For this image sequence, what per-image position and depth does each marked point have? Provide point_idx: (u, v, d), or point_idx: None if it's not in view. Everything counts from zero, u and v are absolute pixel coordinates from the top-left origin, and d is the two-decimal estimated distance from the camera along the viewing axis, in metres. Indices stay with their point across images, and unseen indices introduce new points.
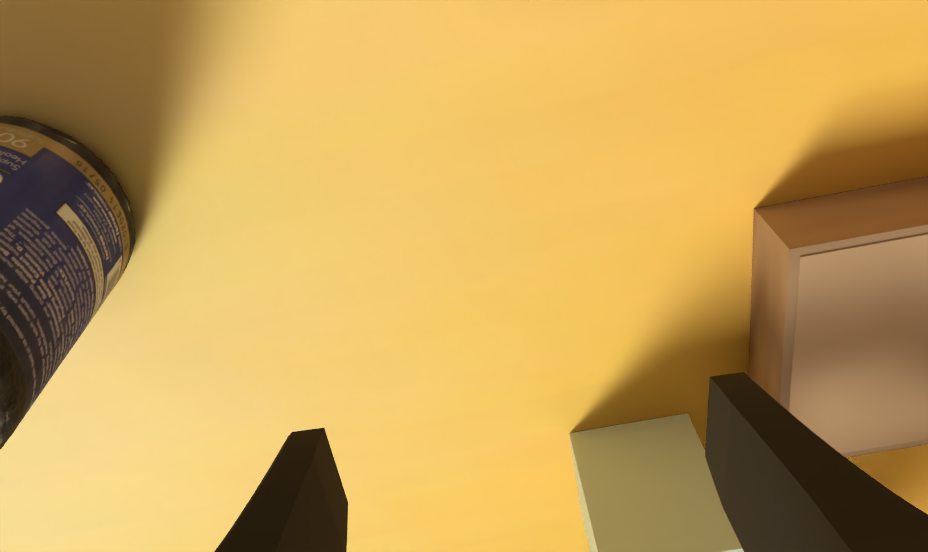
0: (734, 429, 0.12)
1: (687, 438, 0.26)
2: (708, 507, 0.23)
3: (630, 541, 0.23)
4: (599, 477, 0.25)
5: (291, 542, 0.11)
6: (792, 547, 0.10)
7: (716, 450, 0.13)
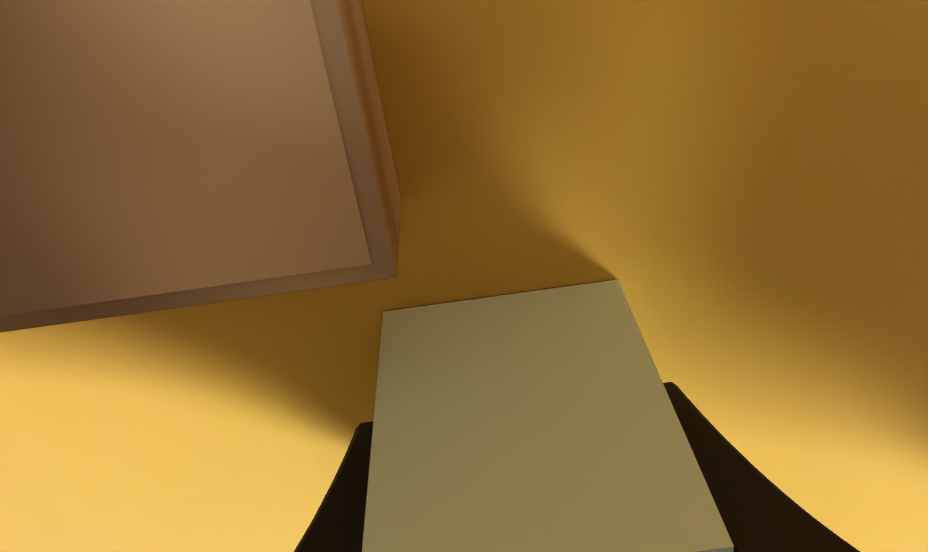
0: None
1: None
2: None
3: None
4: None
5: None
6: None
7: None
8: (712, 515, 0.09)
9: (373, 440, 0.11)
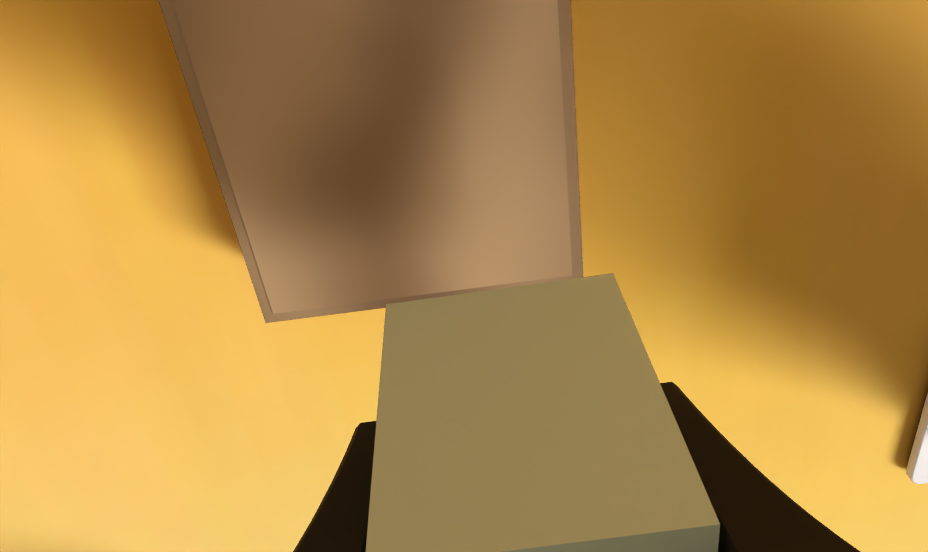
0: None
1: None
2: None
3: None
4: None
5: None
6: None
7: None
8: (700, 495, 0.09)
9: (378, 426, 0.11)
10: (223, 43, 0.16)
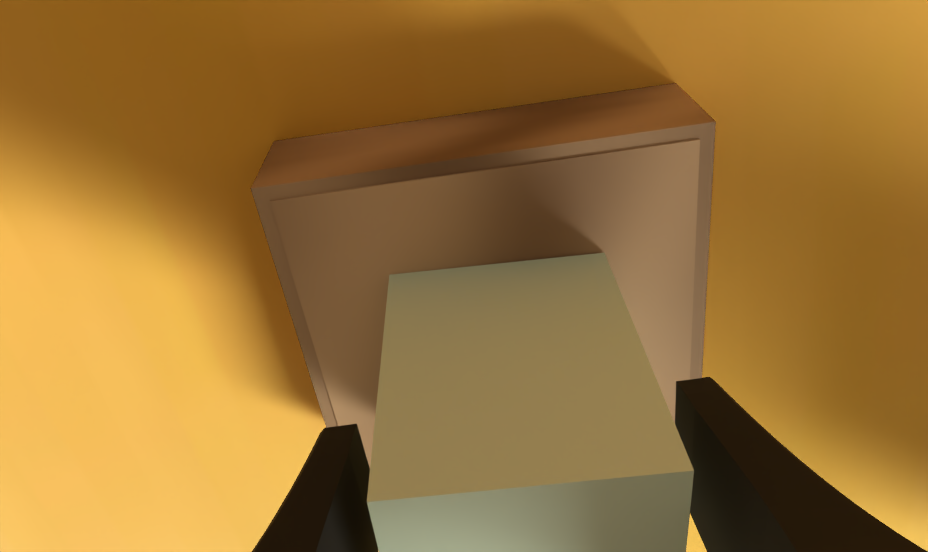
0: (697, 434, 0.12)
1: None
2: None
3: None
4: None
5: (331, 537, 0.11)
6: None
7: None
8: (677, 446, 0.10)
9: (380, 380, 0.12)
10: (324, 242, 0.15)
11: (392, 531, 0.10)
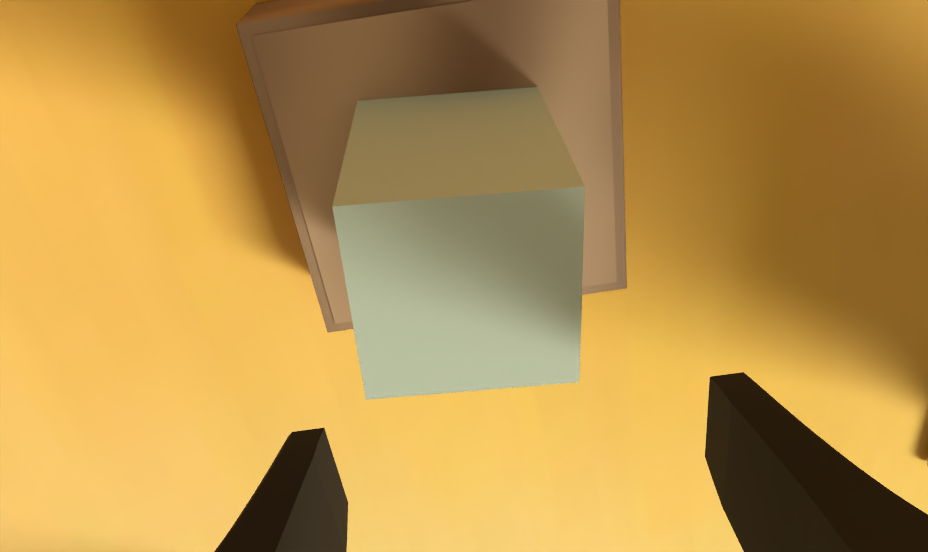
0: (734, 429, 0.12)
1: None
2: None
3: None
4: None
5: (291, 542, 0.11)
6: (792, 547, 0.10)
7: (716, 450, 0.13)
8: (575, 176, 0.13)
9: (346, 152, 0.15)
10: (298, 75, 0.17)
11: (352, 236, 0.13)
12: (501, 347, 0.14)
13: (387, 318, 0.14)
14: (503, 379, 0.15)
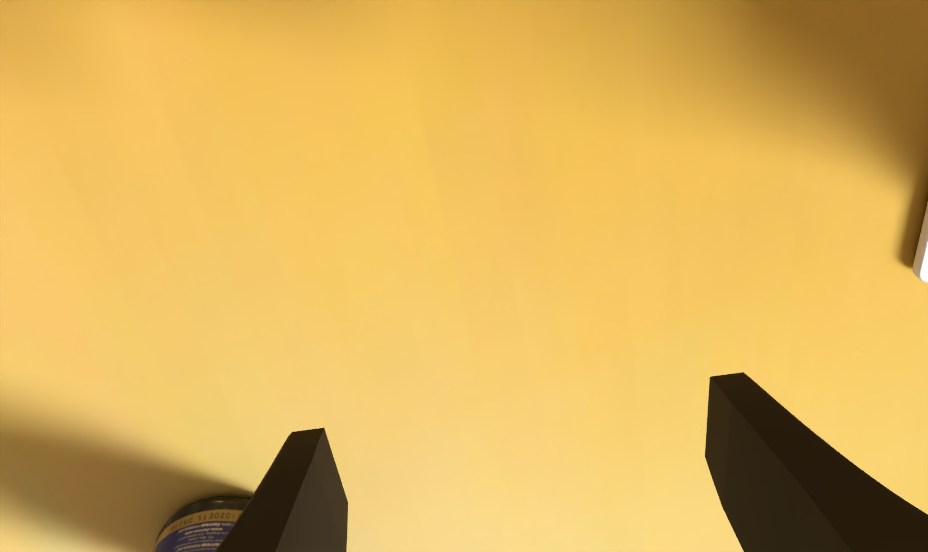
0: (734, 429, 0.12)
1: None
2: None
3: None
4: None
5: (291, 542, 0.11)
6: (792, 547, 0.10)
7: (716, 450, 0.13)
8: None
9: None
10: None
11: None
12: None
13: None
14: None
